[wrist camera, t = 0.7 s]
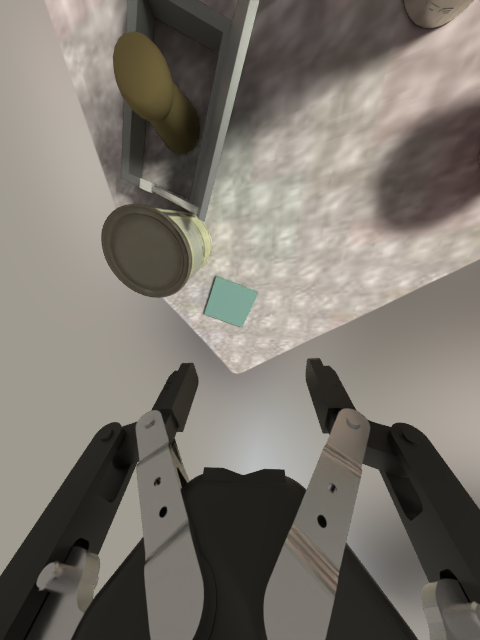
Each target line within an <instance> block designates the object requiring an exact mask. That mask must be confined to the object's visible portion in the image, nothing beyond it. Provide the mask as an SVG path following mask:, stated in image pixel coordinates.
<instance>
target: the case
mask: <svg viewBox="0 0 480 640" xmlns="http://www.w3.org/2000/svg"><path fill="white" fill-rule="evenodd" d="M258 4H259V0H239V2H238V5H237V8H236V11H235V14H234V17H233V21H231V20H230V19H228V18H226V17H225V16H223V15H221V14H220V13H218V12H216V11H215V10H213V9H211V8H210V7H208V6H206V5H205V4H203V3H201V2H200V1H198V0H127V28H126V33H128V32H138V33H141V34H144V35H145V36H147V37H148V38H149V39H150V40H151V41H152V42H153V35H154V23H155V18H157V19H158V20H160V21H162V22H164V23H165V24H167V25H169V26H171V27H172V28H174V29H176V30H178V31H180V32H181V33H183V34H185V35H187V36H188V37H190V38H192V39H194V40H195V41H197V42H199V43H201V44H202V45H204V46H206V47H208V48H209V49H211V50H213V51H215V52H216V53H218V54H219V55H218V60H217V65H216V70H215V75H214V80H213V85H212V90H211V95H210V100H209V105H208V110H207V115H206V120H205V125H204V130H203V135H202V140H201V145H200V150H199V155H198V160H197V165H196V170H195V175H194V180H193V185H192V190H191V195H190V200H189V199H187V198H185V197H182V196H180V195H178V194H176V193H173V192H171V191H169V190H167V189H164V188H162V187H160V186H158V185H155V184H153V183H151V182H149V181H147V180H144V179H142V169H143V156H144V144H145V132H146V119H143V118H141V117H140V116H139V115H138V114H136V113H135V112H134V111H133V110H132V109H131V108H130V106H129V105H128V104H127V102H126V101H125V99H124V112H123V140H122V168H121V179H124V180H126V181H128V182H130V183H133V184H135V185H137V186H140V188H141V189H143V190H146V191H148V192H150V193H156V194H158V195H160V196H162V197H164V198H166V199H168V200H169V201H171V202H173V203H175V204H177V205H179V206H181V207H183V208H185V209H186V210H188V211H190V212H192V213H194V214H196V216H197V217H198V219H199V220H202V221H205V217H206V213H207V209H208V205H209V201H210V197H211V193H212V189H213V185H214V181H215V177H216V173H217V169H218V165H219V161H220V157H221V153H222V149H223V145H224V141H225V137H226V133H227V129H228V125H229V120H230V116H231V112H232V108H233V104H234V100H235V96H236V92H237V88H238V84H239V80H240V76H241V72H242V68H243V64H244V60H245V56H246V52H247V48H248V44H249V40H250V36H251V32H252V28H253V24H254V20H255V16H256V12H257V8H258Z"/></svg>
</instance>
